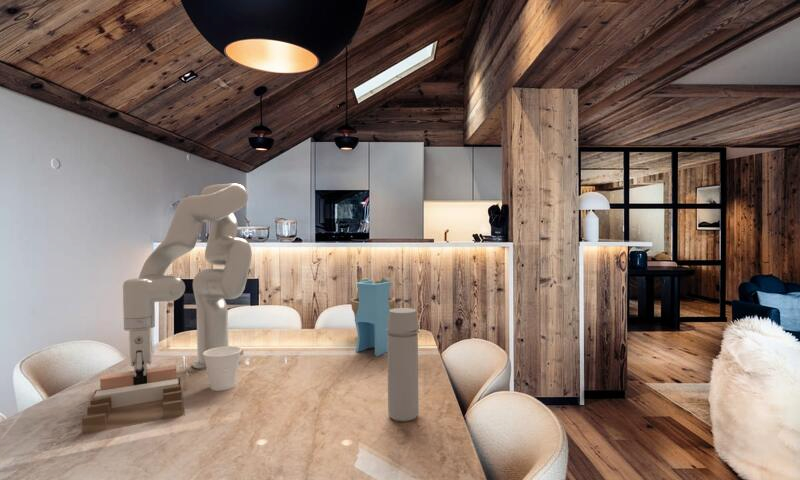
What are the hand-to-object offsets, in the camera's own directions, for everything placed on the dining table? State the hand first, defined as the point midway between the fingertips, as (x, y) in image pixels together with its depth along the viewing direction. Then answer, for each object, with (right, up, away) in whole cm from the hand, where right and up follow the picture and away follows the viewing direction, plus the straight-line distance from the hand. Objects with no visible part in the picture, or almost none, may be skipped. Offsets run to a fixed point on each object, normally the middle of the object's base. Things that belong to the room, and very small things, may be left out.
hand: (140, 387), depth 122 cm
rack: (+9, -1, -17) cm, 19 cm away
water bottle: (+74, 0, -19) cm, 76 cm away
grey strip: (+6, 0, -12) cm, 13 cm away
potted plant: (+62, +1, +58) cm, 85 cm away
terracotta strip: (0, -1, 0) cm, 1 cm away
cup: (+24, -1, -2) cm, 24 cm away
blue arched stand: (+63, +1, +37) cm, 73 cm away
